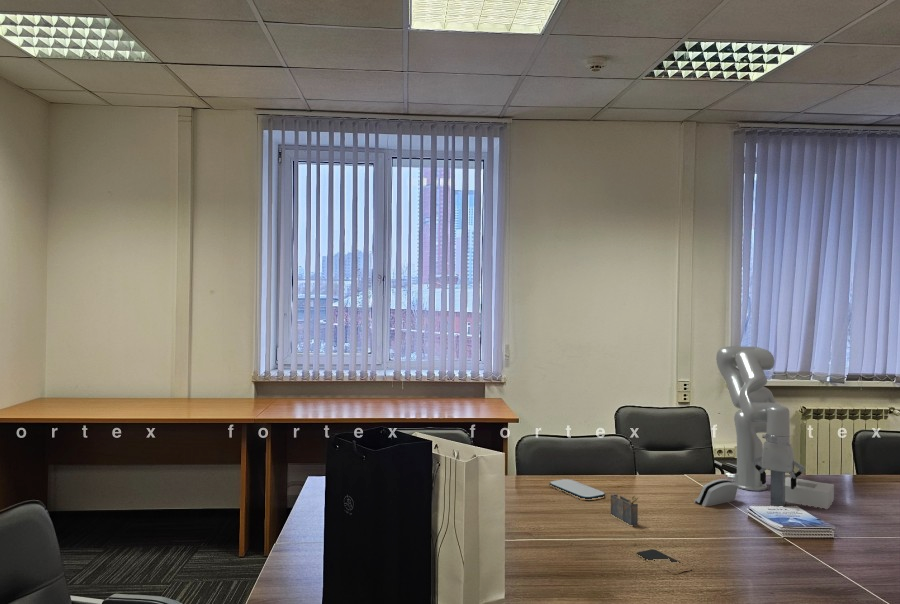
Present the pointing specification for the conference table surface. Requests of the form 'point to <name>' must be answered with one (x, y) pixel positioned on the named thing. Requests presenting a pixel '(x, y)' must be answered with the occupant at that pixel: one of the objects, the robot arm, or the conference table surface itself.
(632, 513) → the grey upright flat piece
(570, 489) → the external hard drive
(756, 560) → the conference table surface
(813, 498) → the well block
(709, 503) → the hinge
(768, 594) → the conference table surface
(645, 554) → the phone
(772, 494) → the bracket bar
